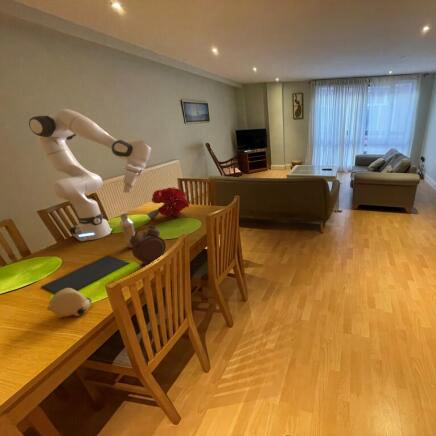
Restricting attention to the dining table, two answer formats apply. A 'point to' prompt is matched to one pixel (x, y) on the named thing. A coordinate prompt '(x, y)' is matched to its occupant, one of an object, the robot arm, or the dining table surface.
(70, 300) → the beige rounded lump
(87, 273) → the mat
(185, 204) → the bouquet
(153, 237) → the alarm clock
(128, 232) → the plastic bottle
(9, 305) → the dining table surface
